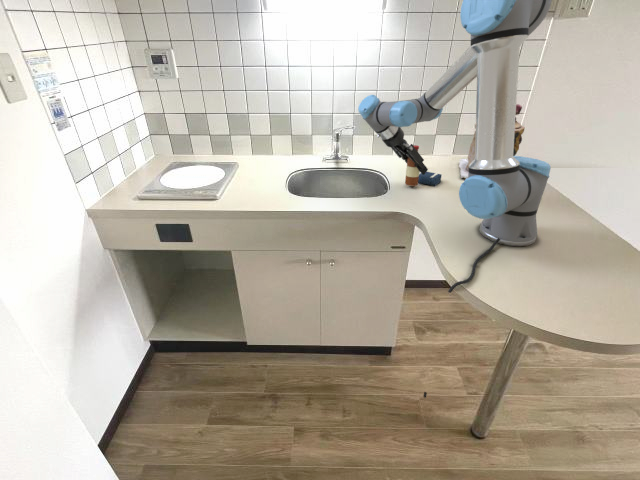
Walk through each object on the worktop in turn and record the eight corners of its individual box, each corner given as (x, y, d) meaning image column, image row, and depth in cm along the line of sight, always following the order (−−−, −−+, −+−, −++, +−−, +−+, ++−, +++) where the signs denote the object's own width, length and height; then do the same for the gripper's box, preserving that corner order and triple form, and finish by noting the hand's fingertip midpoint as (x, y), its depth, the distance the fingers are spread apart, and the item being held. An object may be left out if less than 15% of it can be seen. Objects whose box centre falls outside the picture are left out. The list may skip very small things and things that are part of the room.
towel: (433, 187, 139) (434, 179, 138) (410, 182, 145) (411, 174, 143) (440, 181, 145) (441, 174, 143) (417, 177, 150) (418, 169, 148)
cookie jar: (459, 180, 146) (475, 98, 130) (458, 162, 166) (471, 90, 151) (524, 185, 139) (549, 100, 124) (515, 167, 160) (535, 92, 144)
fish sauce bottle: (414, 186, 136) (419, 148, 129) (402, 184, 139) (406, 146, 132) (420, 183, 140) (424, 145, 132) (408, 180, 142) (412, 143, 135)
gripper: (368, 135, 131) (399, 171, 146) (399, 146, 117) (430, 184, 131) (381, 119, 131) (411, 156, 145) (413, 128, 117) (442, 168, 131)
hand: (420, 169), depth 138 cm, fingers closed on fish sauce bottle, 5 cm apart
